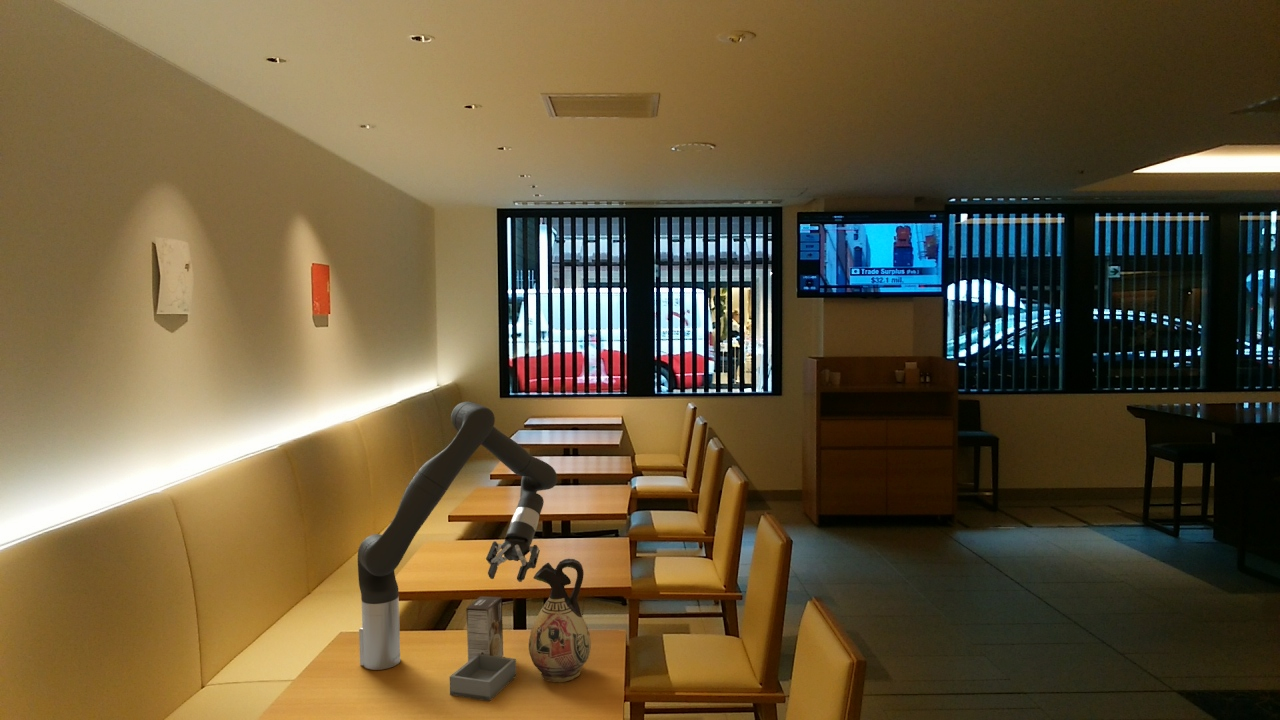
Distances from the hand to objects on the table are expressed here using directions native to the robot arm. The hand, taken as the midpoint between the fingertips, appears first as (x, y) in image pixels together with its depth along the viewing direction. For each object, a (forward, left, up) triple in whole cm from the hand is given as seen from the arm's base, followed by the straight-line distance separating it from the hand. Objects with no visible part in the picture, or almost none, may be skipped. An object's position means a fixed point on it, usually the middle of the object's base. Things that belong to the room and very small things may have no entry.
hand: (504, 579), depth 222 cm
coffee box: (0, -11, -19) cm, 22 cm away
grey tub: (+6, -23, -18) cm, 30 cm away
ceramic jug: (+22, -13, -19) cm, 32 cm away
